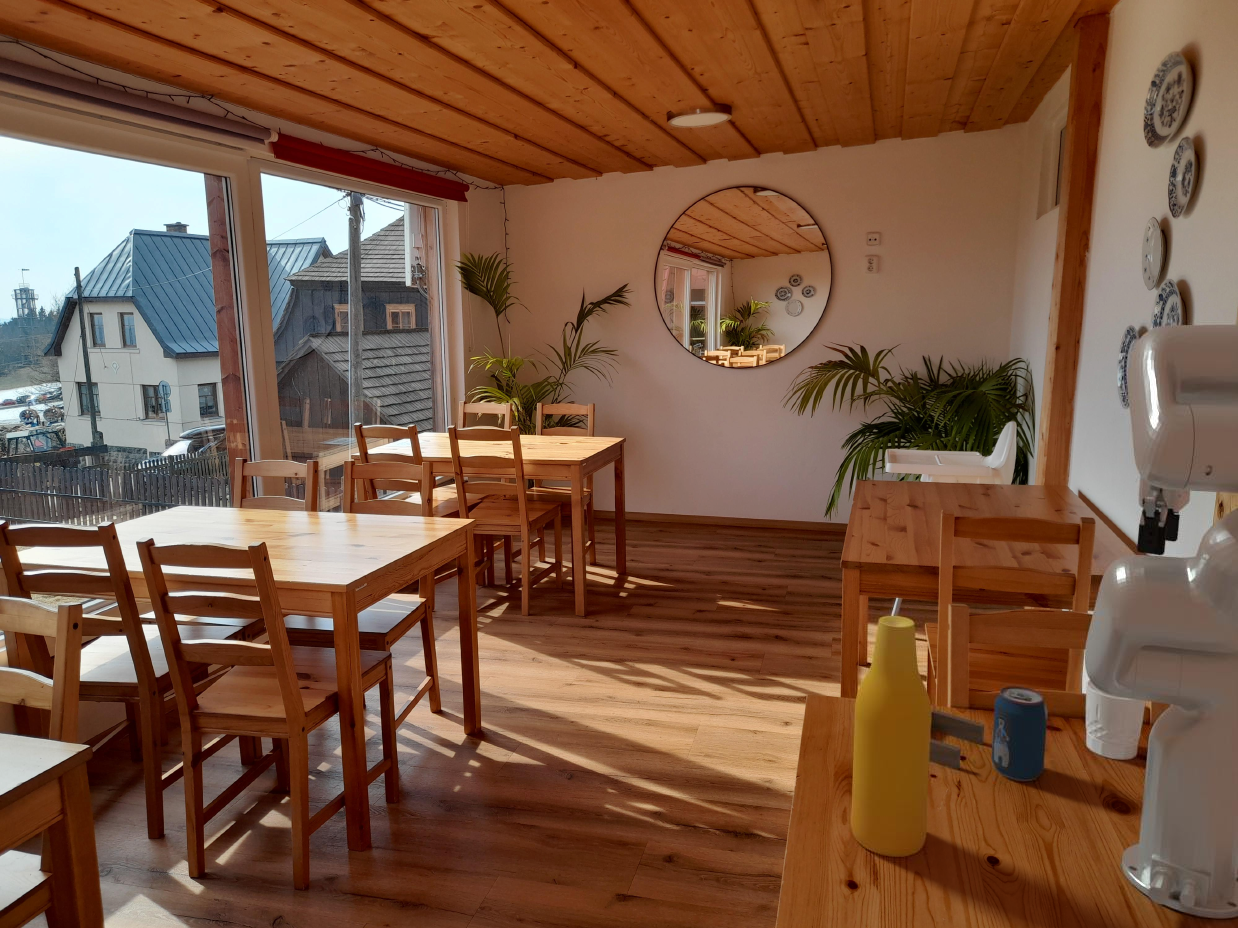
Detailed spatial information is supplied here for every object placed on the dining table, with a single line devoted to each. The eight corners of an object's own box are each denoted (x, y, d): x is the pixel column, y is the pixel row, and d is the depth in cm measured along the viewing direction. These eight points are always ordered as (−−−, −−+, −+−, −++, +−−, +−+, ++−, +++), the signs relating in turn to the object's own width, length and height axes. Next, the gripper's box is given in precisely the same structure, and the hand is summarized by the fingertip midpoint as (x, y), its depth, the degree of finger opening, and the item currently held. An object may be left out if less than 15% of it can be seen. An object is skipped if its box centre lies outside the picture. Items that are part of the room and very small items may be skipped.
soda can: (1047, 768, 124) (1052, 691, 122) (1037, 788, 119) (1043, 708, 117) (997, 754, 128) (1001, 680, 126) (985, 773, 123) (990, 696, 121)
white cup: (1090, 759, 127) (1095, 696, 125) (1075, 734, 134) (1080, 675, 132) (1148, 764, 125) (1154, 701, 123) (1130, 739, 132) (1135, 679, 131)
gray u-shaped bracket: (957, 769, 124) (958, 750, 123) (898, 749, 130) (899, 731, 129) (983, 742, 132) (984, 724, 132) (927, 724, 138) (927, 707, 137)
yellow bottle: (913, 868, 101) (924, 640, 97) (839, 842, 107) (846, 624, 102) (934, 830, 109) (945, 617, 104) (864, 808, 114) (871, 604, 110)
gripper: (1189, 435, 108) (1177, 563, 111) (1210, 423, 121) (1198, 539, 124) (1123, 431, 113) (1113, 554, 116) (1149, 420, 126) (1140, 531, 129)
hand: (1157, 546), depth 120 cm, fingers open, 9 cm apart
